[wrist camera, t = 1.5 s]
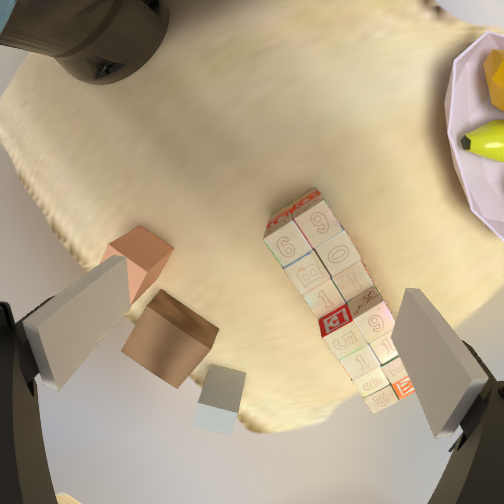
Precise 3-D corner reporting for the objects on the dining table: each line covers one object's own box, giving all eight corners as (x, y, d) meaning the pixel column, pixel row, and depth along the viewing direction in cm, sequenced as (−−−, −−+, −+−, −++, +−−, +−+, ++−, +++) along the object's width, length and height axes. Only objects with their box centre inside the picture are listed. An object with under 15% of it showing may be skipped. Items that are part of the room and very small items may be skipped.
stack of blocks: (267, 216, 34) (258, 248, 23) (315, 186, 33) (331, 202, 21) (354, 350, 38) (373, 415, 27) (395, 327, 37) (426, 387, 25)
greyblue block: (206, 387, 43) (193, 425, 35) (211, 363, 41) (197, 402, 34) (238, 396, 43) (230, 435, 35) (245, 372, 41) (238, 413, 33)
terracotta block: (125, 257, 38) (93, 280, 30) (141, 225, 36) (108, 244, 28) (156, 279, 38) (129, 307, 30) (174, 248, 36) (147, 272, 29)
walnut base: (135, 332, 41) (120, 351, 37) (162, 288, 39) (146, 305, 34) (187, 366, 42) (177, 388, 37) (219, 327, 39) (211, 349, 35)
